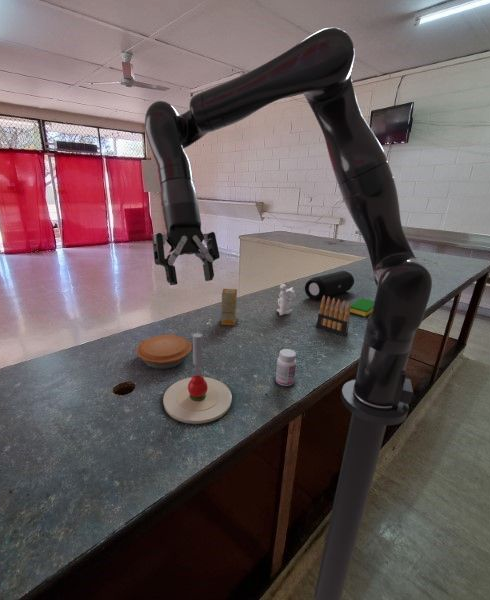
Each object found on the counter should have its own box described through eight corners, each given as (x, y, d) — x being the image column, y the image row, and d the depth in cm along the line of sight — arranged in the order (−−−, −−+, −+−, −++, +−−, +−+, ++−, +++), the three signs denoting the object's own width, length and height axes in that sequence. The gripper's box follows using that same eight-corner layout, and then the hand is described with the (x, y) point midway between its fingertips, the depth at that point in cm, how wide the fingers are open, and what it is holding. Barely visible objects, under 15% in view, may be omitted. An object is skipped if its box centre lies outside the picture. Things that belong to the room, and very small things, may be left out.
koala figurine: (282, 318, 120) (285, 288, 115) (269, 312, 125) (272, 283, 120) (297, 313, 125) (300, 284, 120) (284, 307, 130) (287, 279, 125)
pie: (163, 381, 81) (162, 364, 79) (125, 360, 89) (124, 344, 88) (202, 356, 92) (202, 341, 90) (166, 340, 101) (165, 326, 99)
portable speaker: (319, 303, 135) (323, 281, 131) (301, 297, 142) (304, 275, 138) (354, 293, 149) (357, 272, 145) (335, 287, 156) (339, 267, 153)
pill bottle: (290, 388, 79) (294, 359, 76) (272, 382, 81) (275, 354, 78) (296, 379, 83) (299, 351, 80) (279, 373, 85) (281, 346, 82)
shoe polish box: (235, 320, 117) (237, 289, 113) (235, 325, 112) (236, 294, 108) (222, 319, 117) (223, 288, 113) (221, 324, 113) (221, 293, 109)
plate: (241, 389, 78) (241, 386, 78) (214, 433, 65) (214, 429, 64) (185, 373, 84) (185, 370, 84) (149, 410, 70) (149, 407, 70)
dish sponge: (347, 311, 127) (348, 306, 126) (361, 303, 137) (361, 297, 136) (365, 316, 123) (366, 311, 122) (378, 307, 132) (379, 302, 131)
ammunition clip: (347, 334, 108) (353, 301, 104) (345, 335, 107) (351, 302, 103) (318, 324, 115) (322, 293, 111) (316, 326, 113) (320, 295, 109)
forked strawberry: (207, 389, 76) (207, 330, 71) (208, 402, 72) (208, 339, 66) (187, 390, 76) (186, 330, 70) (188, 403, 72) (186, 340, 66)
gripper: (155, 198, 59) (168, 284, 59) (218, 201, 67) (229, 277, 67) (141, 210, 65) (153, 288, 66) (200, 211, 73) (211, 281, 74)
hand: (192, 282), depth 66 cm, fingers open, 8 cm apart
